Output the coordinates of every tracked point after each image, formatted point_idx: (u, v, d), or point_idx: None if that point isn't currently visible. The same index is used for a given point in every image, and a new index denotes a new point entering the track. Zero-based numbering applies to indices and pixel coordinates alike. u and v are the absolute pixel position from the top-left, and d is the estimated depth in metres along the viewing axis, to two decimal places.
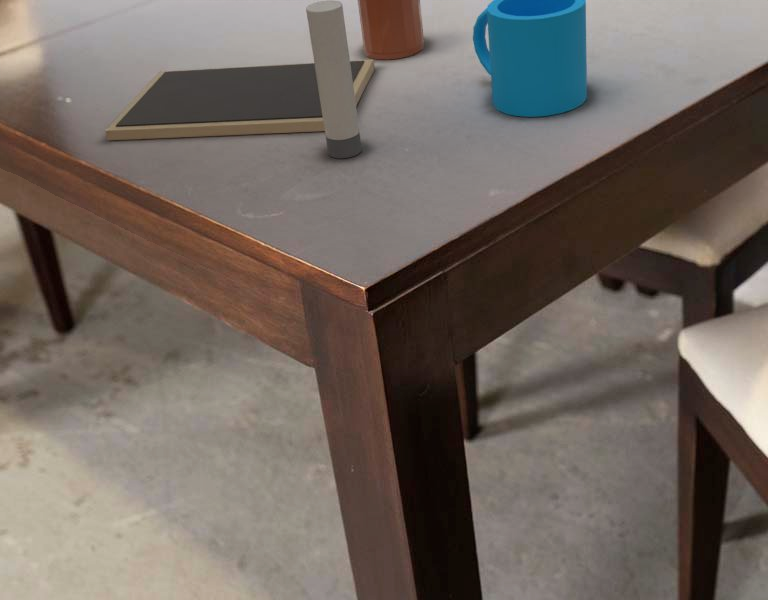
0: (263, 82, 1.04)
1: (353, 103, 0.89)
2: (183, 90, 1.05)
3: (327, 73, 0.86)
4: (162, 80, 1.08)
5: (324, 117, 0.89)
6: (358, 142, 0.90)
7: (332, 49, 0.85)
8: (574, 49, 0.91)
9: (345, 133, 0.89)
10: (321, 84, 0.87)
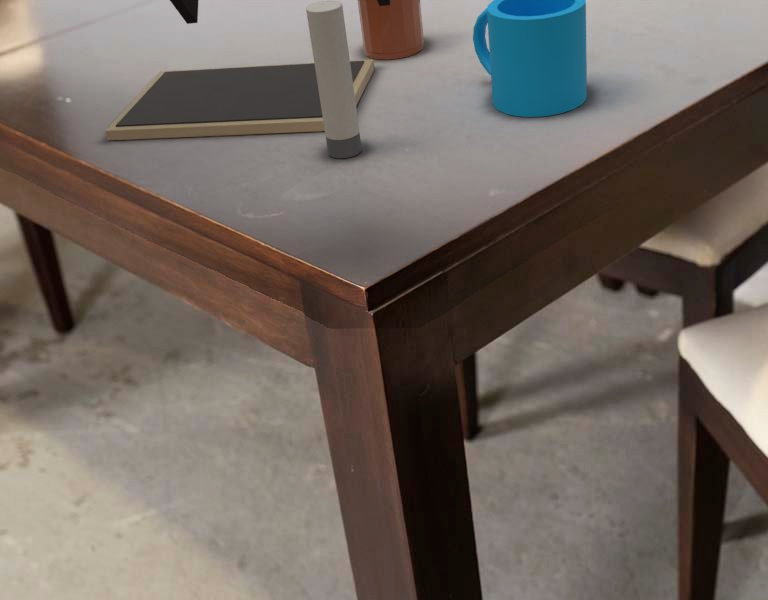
0: (263, 82, 1.04)
1: (353, 103, 0.89)
2: (183, 90, 1.05)
3: (327, 73, 0.86)
4: (162, 80, 1.08)
5: (324, 117, 0.89)
6: (358, 142, 0.90)
7: (332, 49, 0.85)
8: (574, 49, 0.91)
9: (345, 133, 0.89)
10: (321, 84, 0.87)
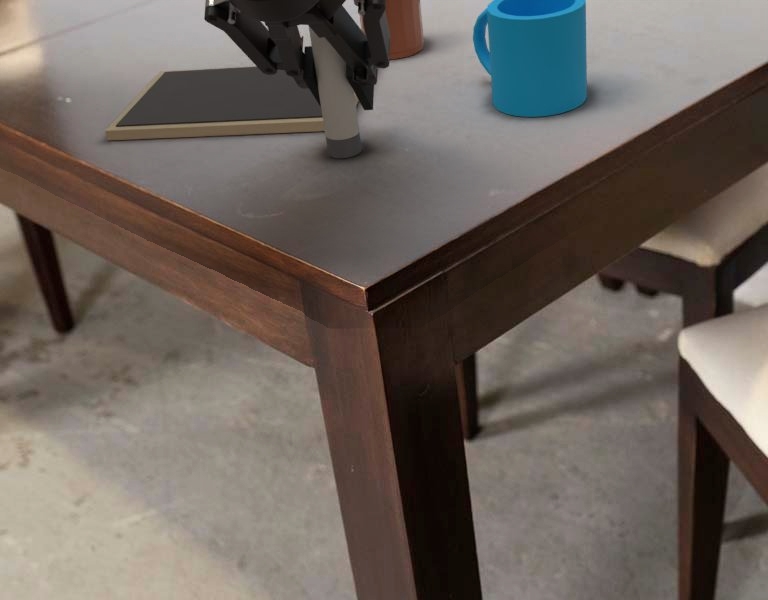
0: (263, 82, 1.04)
1: (353, 103, 0.89)
2: (183, 90, 1.05)
3: (327, 73, 0.86)
4: (162, 80, 1.08)
5: (324, 117, 0.89)
6: (358, 142, 0.90)
7: (331, 48, 0.85)
8: (574, 49, 0.91)
9: (345, 133, 0.89)
10: (321, 84, 0.87)
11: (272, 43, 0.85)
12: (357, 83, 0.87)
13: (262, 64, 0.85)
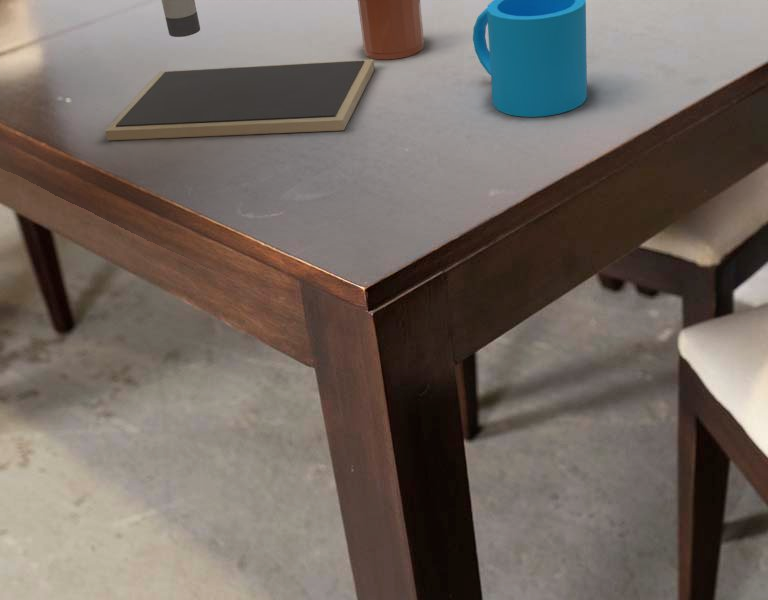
0: (263, 82, 1.04)
1: None
2: (183, 90, 1.05)
3: None
4: (162, 80, 1.08)
5: None
6: (195, 21, 0.97)
7: None
8: (574, 49, 0.91)
9: (181, 12, 0.96)
10: None
11: None
12: None
13: None
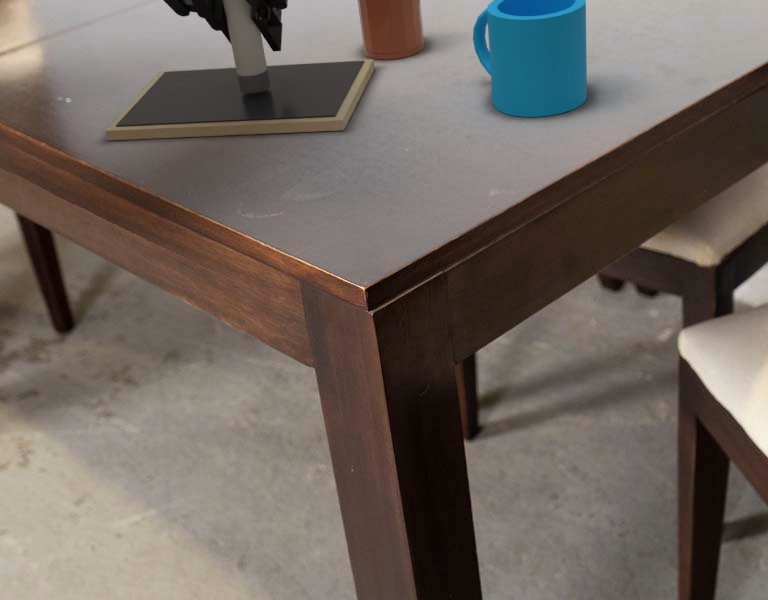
0: None
1: (260, 43, 0.99)
2: (183, 90, 1.05)
3: (234, 15, 0.97)
4: (162, 80, 1.08)
5: (234, 55, 1.00)
6: (266, 78, 1.01)
7: None
8: (574, 49, 0.91)
9: (253, 70, 1.00)
10: (230, 25, 0.98)
11: None
12: (262, 24, 0.98)
13: (176, 6, 0.96)
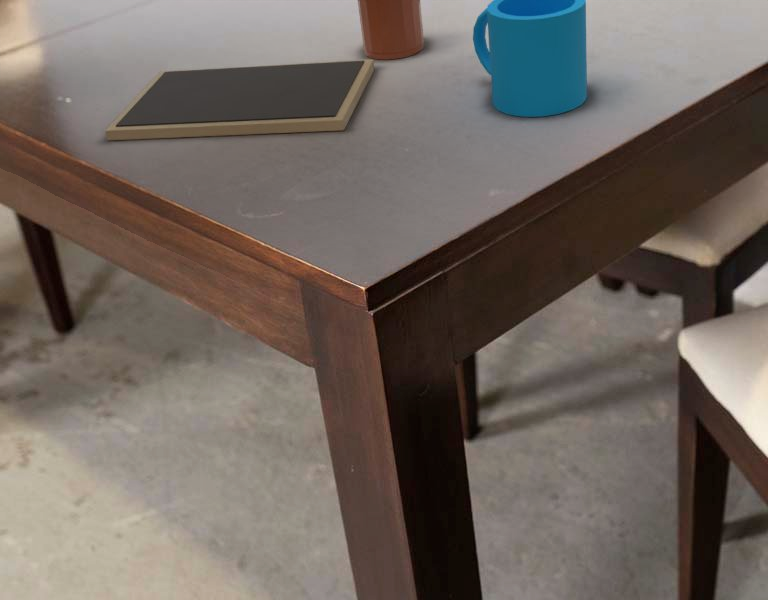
0: (263, 82, 1.04)
1: None
2: (183, 90, 1.05)
3: None
4: (162, 80, 1.08)
5: None
6: None
7: None
8: (574, 49, 0.91)
9: None
10: None
11: None
12: None
13: None
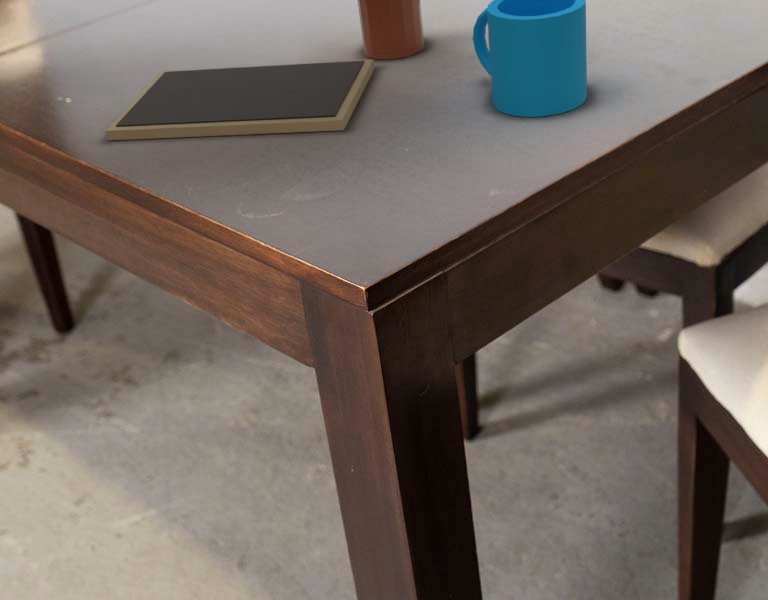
0: (263, 82, 1.04)
1: None
2: (183, 90, 1.05)
3: None
4: (162, 80, 1.08)
5: None
6: None
7: None
8: (574, 49, 0.91)
9: None
10: None
11: None
12: None
13: None
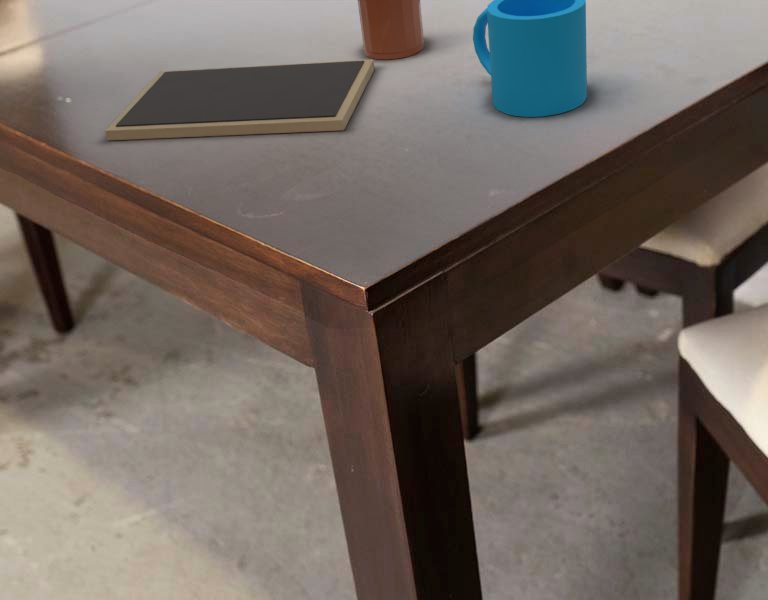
0: (263, 82, 1.04)
1: None
2: (183, 90, 1.05)
3: None
4: (162, 80, 1.08)
5: None
6: None
7: None
8: (574, 49, 0.91)
9: None
10: None
11: None
12: None
13: None
